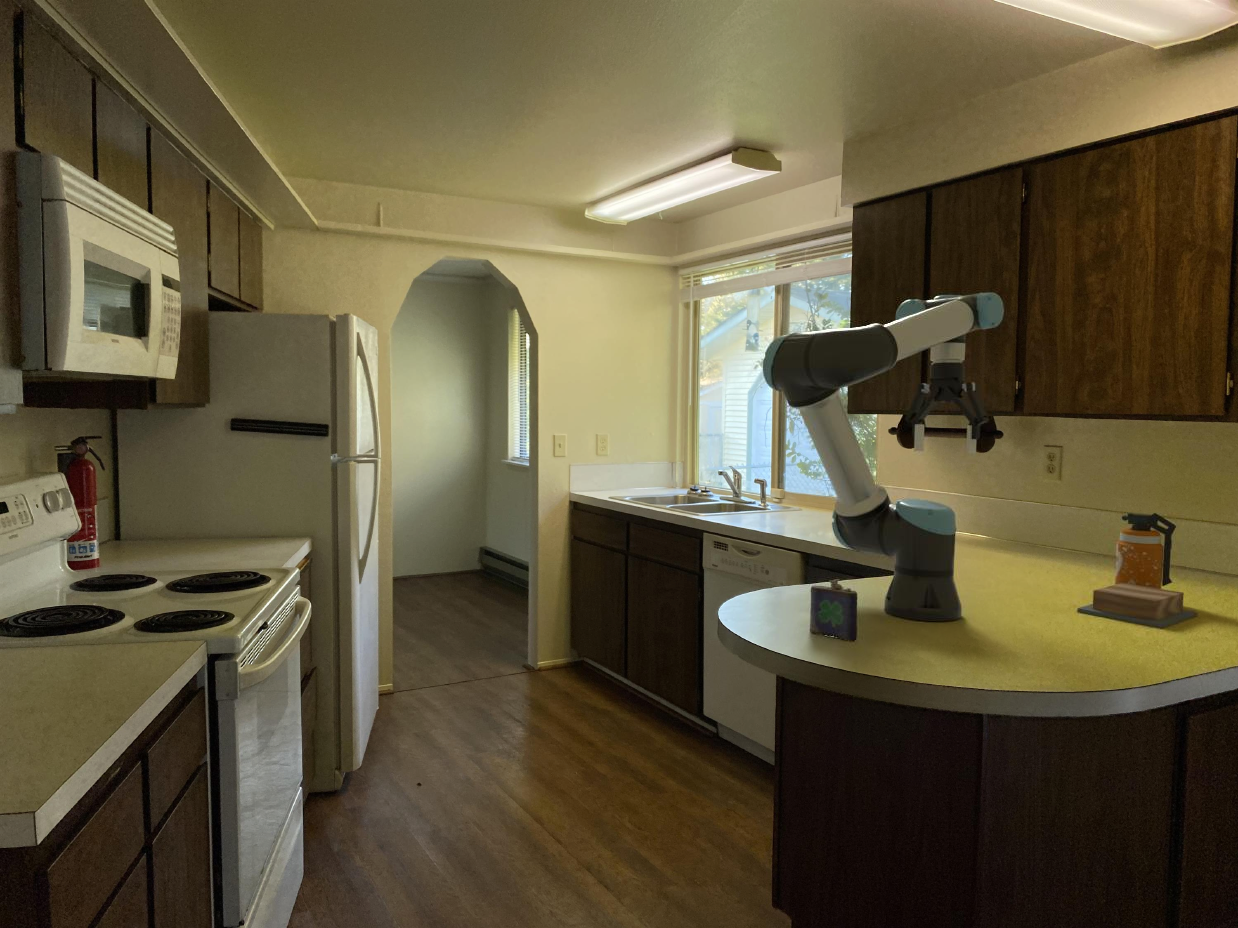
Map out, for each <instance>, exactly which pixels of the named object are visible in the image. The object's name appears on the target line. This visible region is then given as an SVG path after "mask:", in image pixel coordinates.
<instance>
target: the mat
mask: <svg viewBox="0 0 1238 928" xmlns="http://www.w3.org/2000/svg"><path fill="white" fill-rule="evenodd" d="M1076 612H1077V613H1081V614H1087V615H1091V616H1097V617H1102V618H1107V619H1110V620H1111V619H1112V620H1117V621H1123V622H1128V623H1133V624H1139V625H1142V626H1147V627H1148V626H1149V627H1154V628H1159V629H1164V628H1167V627H1170V626H1172V625H1176V624H1179V623H1182V622H1184V621H1187V620H1190V619H1192V618H1195V617H1198V611H1195V610H1193V611H1192V610H1188V609H1183V611H1182V612H1180V613H1177V614H1174V615H1171V616H1168V617H1165V618H1162V619H1159V620H1156V621H1154V620H1148V619H1143V618H1138V617H1132V616H1127V615H1122V614H1117V613H1111V612H1106V611H1101V610H1095V609H1093V603H1091V604H1087V605H1083V606H1081V607H1077V609H1076Z"/></svg>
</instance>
